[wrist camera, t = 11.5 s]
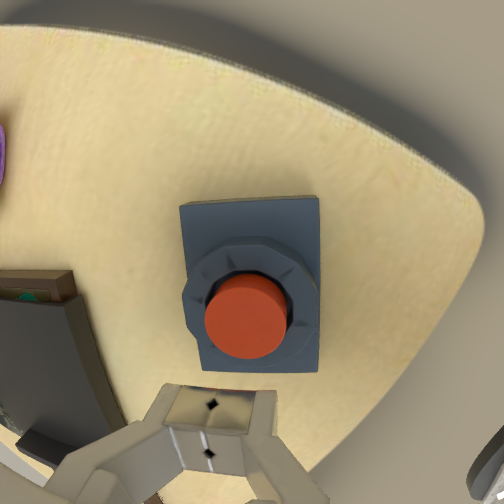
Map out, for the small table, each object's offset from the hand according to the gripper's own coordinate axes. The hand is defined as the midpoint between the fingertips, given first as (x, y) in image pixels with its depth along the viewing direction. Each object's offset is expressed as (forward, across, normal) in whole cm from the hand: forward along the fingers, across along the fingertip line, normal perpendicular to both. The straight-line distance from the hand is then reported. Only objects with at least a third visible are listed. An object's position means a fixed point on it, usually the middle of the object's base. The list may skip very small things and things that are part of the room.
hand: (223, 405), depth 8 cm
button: (+7, 0, +1) cm, 8 cm away
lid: (+10, +21, +10) cm, 25 cm away
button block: (+11, 0, +1) cm, 11 cm away
